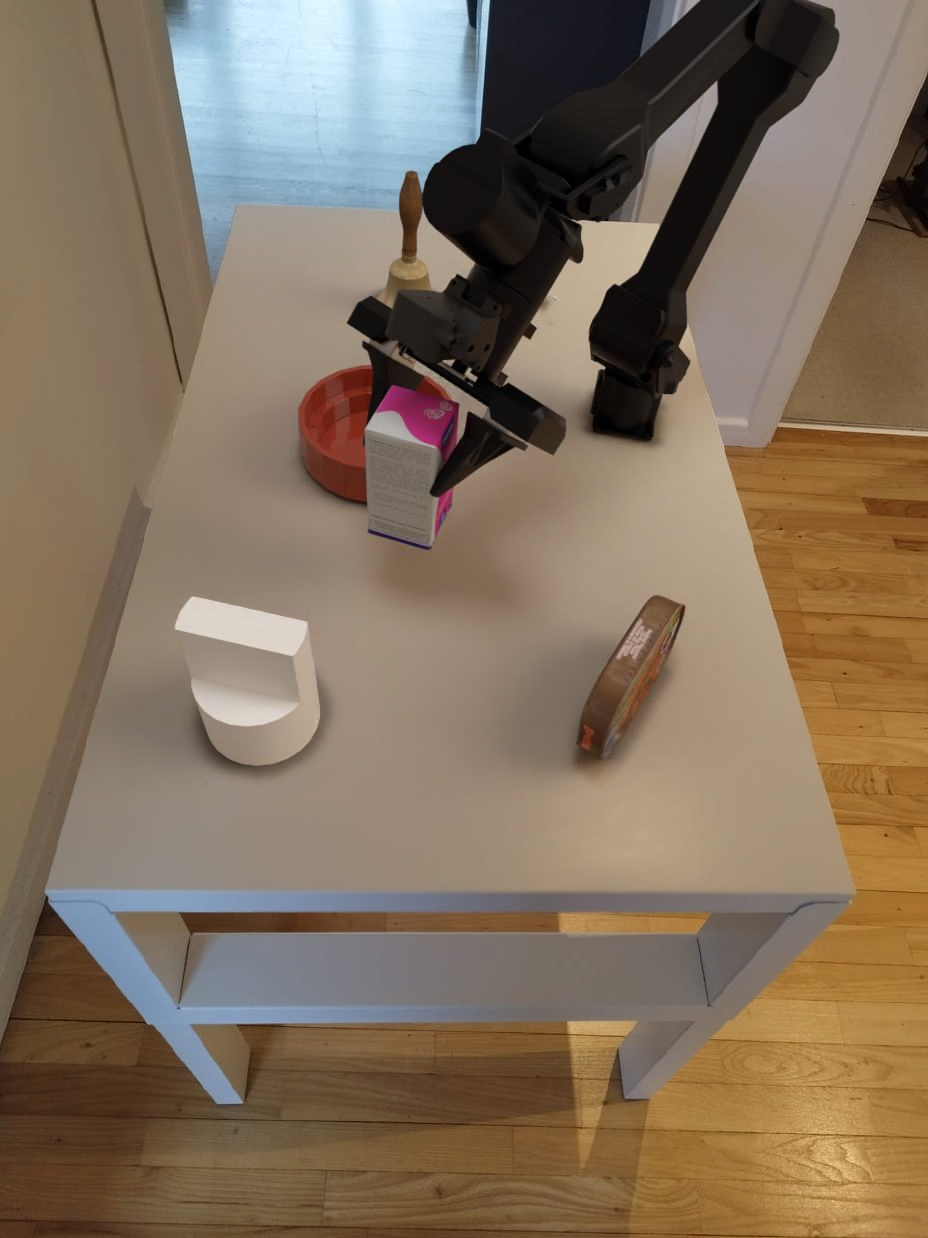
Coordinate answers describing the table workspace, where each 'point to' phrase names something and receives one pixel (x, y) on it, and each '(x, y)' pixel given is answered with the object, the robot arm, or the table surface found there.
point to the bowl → (342, 428)
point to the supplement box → (408, 465)
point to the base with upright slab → (250, 679)
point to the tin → (629, 676)
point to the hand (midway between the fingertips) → (399, 470)
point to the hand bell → (407, 245)
